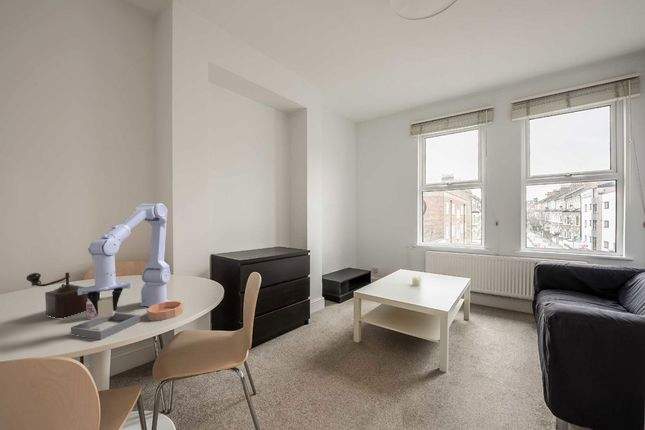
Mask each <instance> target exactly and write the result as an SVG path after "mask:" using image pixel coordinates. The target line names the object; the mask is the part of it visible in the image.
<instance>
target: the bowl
mask: <svg viewBox="0 0 645 430" xmlns="http://www.w3.org/2000/svg"><path fill="white" fill-rule="evenodd" d="M183 312H184V303H183V302H182V301H179V300H172V301H166V302H162V303H158V304H155V305H153V306H150V307H148V308H147V309H146V318H147V319H148V320H149V321H163V320H165V321H166V320H169V319H172V318H176V317H178V316H179V315H182V313H183Z"/></svg>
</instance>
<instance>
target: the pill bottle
mask: <svg viewBox="0 0 645 430" xmlns="http://www.w3.org/2000/svg"><path fill="white" fill-rule="evenodd" d="M100 298H102V294H101V293H100ZM87 300H88V302H87V303H86V305H87V311H86V318H87V320H92V319H95V318H97V317H98V314H96V310H95V308H94V306H93V304H92V302H91V301H90V300H89V299H87Z"/></svg>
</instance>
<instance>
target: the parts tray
mask: <svg viewBox="0 0 645 430" xmlns="http://www.w3.org/2000/svg"><path fill="white" fill-rule="evenodd" d="M111 320H117V321H121V322H119V323H116V324H114V325H111V326H110V327H107V328H104V329H102V330H101V329H99V330H98V329H93V327H97V326H99V325H101V324H103V323H107V322H109V321H111ZM138 323H141V314H135V313H134V314H133V313H127V312H126V313H125V312H119V311H115V314H114V315H113V316H111V317H105V318H99V319H98V317H97V318H95V319H88V320H87V321H83V322H82V323H79V324H77V325H74V326H71V327H70V334H74V335H73V336H75V335H79V336H78V337H81V336H84V337H83V338H87V337H88V338H89V339H94V340H95V339H96V340H104V339H105V338H106V339H107V337H111V336H112V335H115V334H117V333H118V332H121V331H123V330H126V329H127V328H130V327H132V326H134V325H136V324H138ZM96 325H97V326H96ZM91 327H92V328H91ZM88 338H87V339H88Z"/></svg>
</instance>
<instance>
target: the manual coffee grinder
mask: <svg viewBox="0 0 645 430" xmlns="http://www.w3.org/2000/svg"><path fill="white" fill-rule="evenodd" d="M64 275H65V276H64V277H63V278H60V279H58V280H54V281H51V282H46V283H42V281H41V280H40V279H41V278H42V275H41V273H39V272H33V273H29V274H28V275H27V276H26V277H25V279H26V281H28V282H29V283H31V286H32V287H34V286H36V287H47V286H50V285H54V284H58V283H61V282H63V281H65V284H64V283H62V284H61V286H60V287H58V288H56V289H55V288H54V290H50V291H46V292H45V294H44V298H45V314H46V315H45V316H47V315H48V316H51V317H55V318H63V319H65V318H64V317H66V318H69V317H72V316H71V315H73V316H76V315H79V314H82V313H85V312H87V305H86V303H87V302H88V300H87V299H88V297H87V296H88V293H87V294H82V295H78V289H79V288H84V287H85V286H82V285H76V284H70V277H71V276H70V273H69V272H65V273H64ZM84 311H85V312H84ZM81 312H82V313H81ZM78 313H79V314H78ZM75 314H76V315H75ZM48 316H47V317H48ZM68 316H69V317H68ZM51 317H50V318H51Z"/></svg>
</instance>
